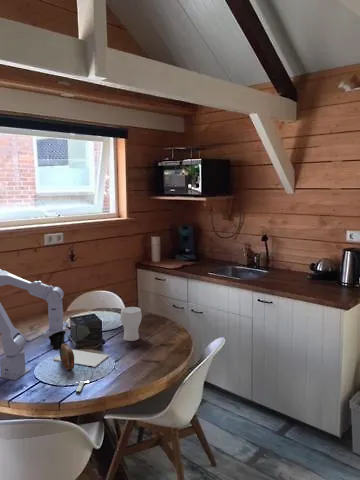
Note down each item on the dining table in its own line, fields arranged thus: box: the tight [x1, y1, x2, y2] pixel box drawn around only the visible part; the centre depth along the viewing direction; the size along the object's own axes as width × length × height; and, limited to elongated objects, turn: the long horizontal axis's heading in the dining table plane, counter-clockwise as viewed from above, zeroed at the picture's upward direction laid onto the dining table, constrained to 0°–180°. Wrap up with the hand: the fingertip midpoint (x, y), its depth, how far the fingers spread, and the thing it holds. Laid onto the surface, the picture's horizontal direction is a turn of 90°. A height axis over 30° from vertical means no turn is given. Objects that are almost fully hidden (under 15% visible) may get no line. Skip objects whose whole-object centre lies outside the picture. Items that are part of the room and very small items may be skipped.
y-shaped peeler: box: [75, 380, 91, 395], centre depth 166 cm, size 17×5×1 cm, turn 1°
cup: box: [119, 306, 143, 342], centre depth 212 cm, size 11×11×15 cm
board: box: [53, 348, 110, 368], centre depth 189 cm, size 12×21×1 cm, turn 71°
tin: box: [58, 342, 75, 371], centre depth 180 cm, size 15×3×8 cm, turn 31°
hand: (57, 349), depth 173 cm, fingers closed
